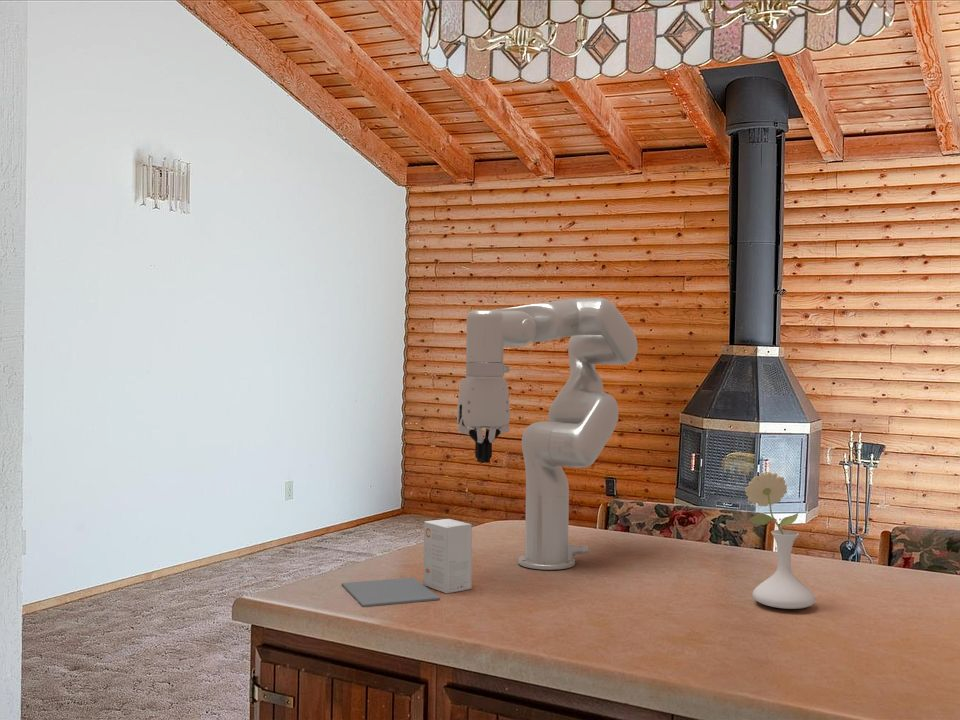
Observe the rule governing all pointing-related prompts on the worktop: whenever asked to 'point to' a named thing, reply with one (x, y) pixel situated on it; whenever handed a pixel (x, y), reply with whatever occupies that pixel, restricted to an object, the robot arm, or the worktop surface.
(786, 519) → the flower in vase
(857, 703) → the worktop surface
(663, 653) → the worktop surface
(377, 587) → the mat
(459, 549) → the small box
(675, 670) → the worktop surface
